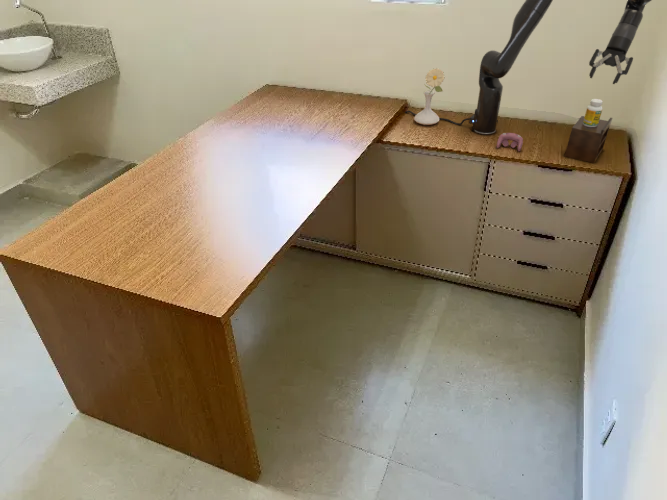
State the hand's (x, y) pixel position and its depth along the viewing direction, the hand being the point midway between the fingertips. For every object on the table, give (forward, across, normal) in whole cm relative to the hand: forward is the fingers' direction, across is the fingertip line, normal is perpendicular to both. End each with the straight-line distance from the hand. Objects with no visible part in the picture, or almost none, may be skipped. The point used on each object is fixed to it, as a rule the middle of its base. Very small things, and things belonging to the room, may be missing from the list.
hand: (602, 80), depth 196 cm
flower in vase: (+36, +61, -3) cm, 71 cm away
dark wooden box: (+27, -5, -3) cm, 28 cm away
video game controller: (+36, +21, +5) cm, 42 cm away
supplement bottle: (+18, -3, +4) cm, 19 cm away
